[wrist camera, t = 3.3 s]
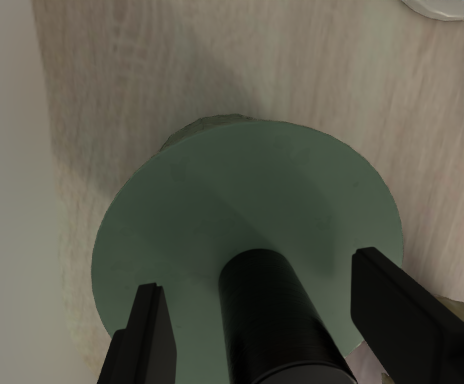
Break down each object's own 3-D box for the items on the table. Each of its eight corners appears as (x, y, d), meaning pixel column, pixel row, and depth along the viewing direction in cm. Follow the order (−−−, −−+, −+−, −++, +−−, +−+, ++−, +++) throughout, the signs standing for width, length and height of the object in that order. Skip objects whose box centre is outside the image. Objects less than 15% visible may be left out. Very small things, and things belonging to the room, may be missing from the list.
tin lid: (60, 141, 10) (-125, 204, 4) (395, 99, 11) (621, 103, 5) (137, 394, 14) (95, 608, 8) (378, 348, 15) (495, 510, 9)
